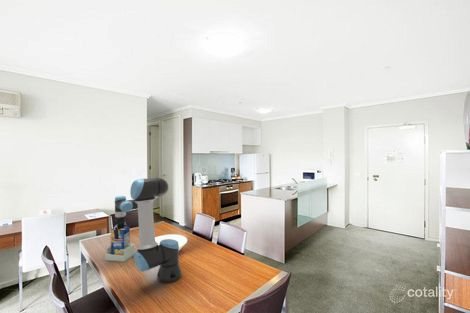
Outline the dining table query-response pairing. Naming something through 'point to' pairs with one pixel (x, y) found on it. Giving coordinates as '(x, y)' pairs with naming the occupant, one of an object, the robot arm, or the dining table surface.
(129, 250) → the crate
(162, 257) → the robot arm
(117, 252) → the beverage box
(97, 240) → the dining table surface
